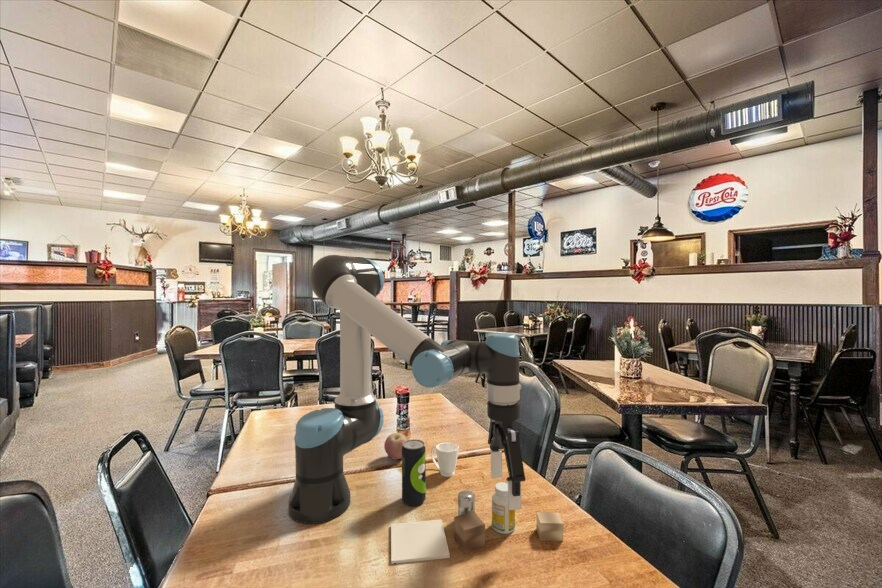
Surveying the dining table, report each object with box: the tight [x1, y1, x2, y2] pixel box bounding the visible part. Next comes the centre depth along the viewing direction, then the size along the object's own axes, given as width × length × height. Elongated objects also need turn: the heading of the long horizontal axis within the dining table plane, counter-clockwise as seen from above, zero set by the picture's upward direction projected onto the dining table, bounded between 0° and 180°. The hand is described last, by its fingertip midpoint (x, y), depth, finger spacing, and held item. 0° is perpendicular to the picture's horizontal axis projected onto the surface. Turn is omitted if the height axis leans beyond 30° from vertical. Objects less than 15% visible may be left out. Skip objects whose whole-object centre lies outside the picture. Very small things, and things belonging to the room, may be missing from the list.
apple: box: [383, 432, 409, 460], centre depth 122 cm, size 8×8×8 cm
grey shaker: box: [457, 490, 476, 516], centre depth 90 cm, size 4×4×6 cm
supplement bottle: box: [491, 481, 516, 535], centre depth 87 cm, size 5×5×10 cm
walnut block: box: [453, 511, 486, 554], centre depth 82 cm, size 5×5×5 cm
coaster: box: [390, 519, 451, 565], centre depth 82 cm, size 12×12×1 cm
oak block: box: [535, 511, 564, 542], centre depth 84 cm, size 5×4×4 cm
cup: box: [430, 441, 460, 478], centre depth 113 cm, size 7×10×8 cm
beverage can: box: [401, 438, 427, 507], centre depth 98 cm, size 6×6×15 cm
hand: (505, 491), depth 87 cm, fingers open, 13 cm apart
